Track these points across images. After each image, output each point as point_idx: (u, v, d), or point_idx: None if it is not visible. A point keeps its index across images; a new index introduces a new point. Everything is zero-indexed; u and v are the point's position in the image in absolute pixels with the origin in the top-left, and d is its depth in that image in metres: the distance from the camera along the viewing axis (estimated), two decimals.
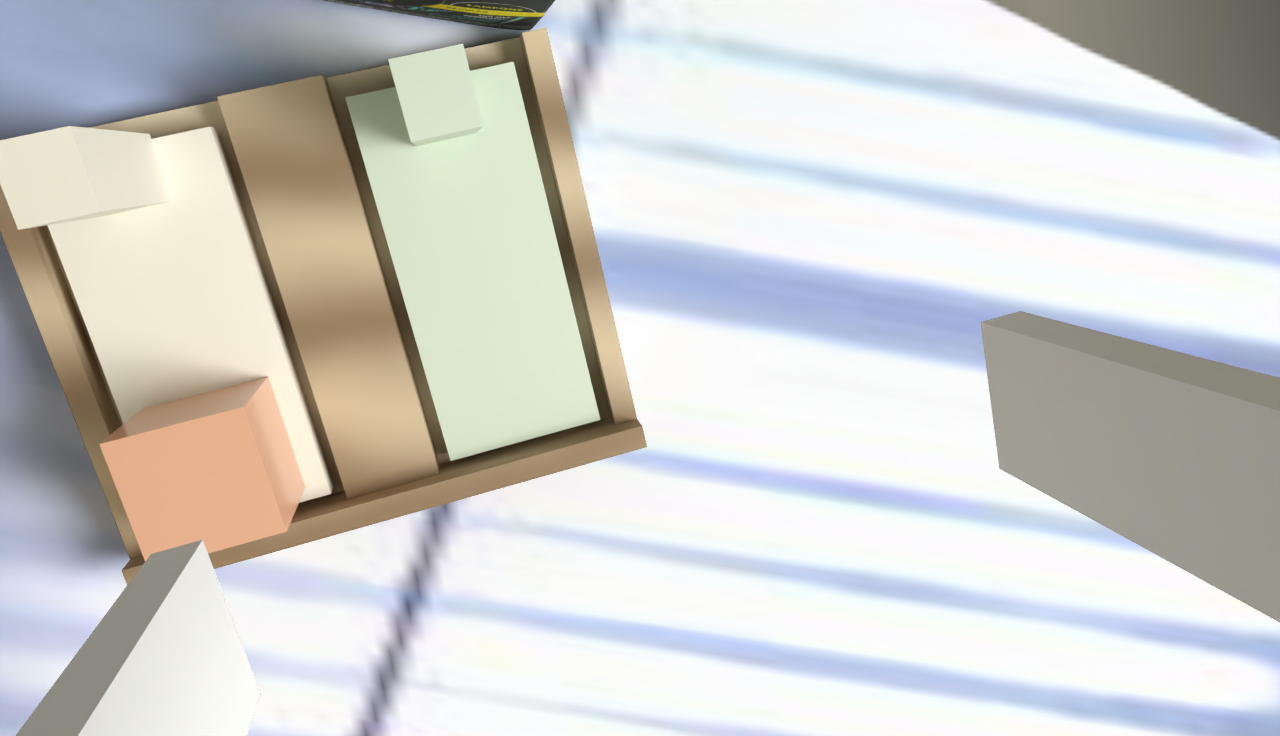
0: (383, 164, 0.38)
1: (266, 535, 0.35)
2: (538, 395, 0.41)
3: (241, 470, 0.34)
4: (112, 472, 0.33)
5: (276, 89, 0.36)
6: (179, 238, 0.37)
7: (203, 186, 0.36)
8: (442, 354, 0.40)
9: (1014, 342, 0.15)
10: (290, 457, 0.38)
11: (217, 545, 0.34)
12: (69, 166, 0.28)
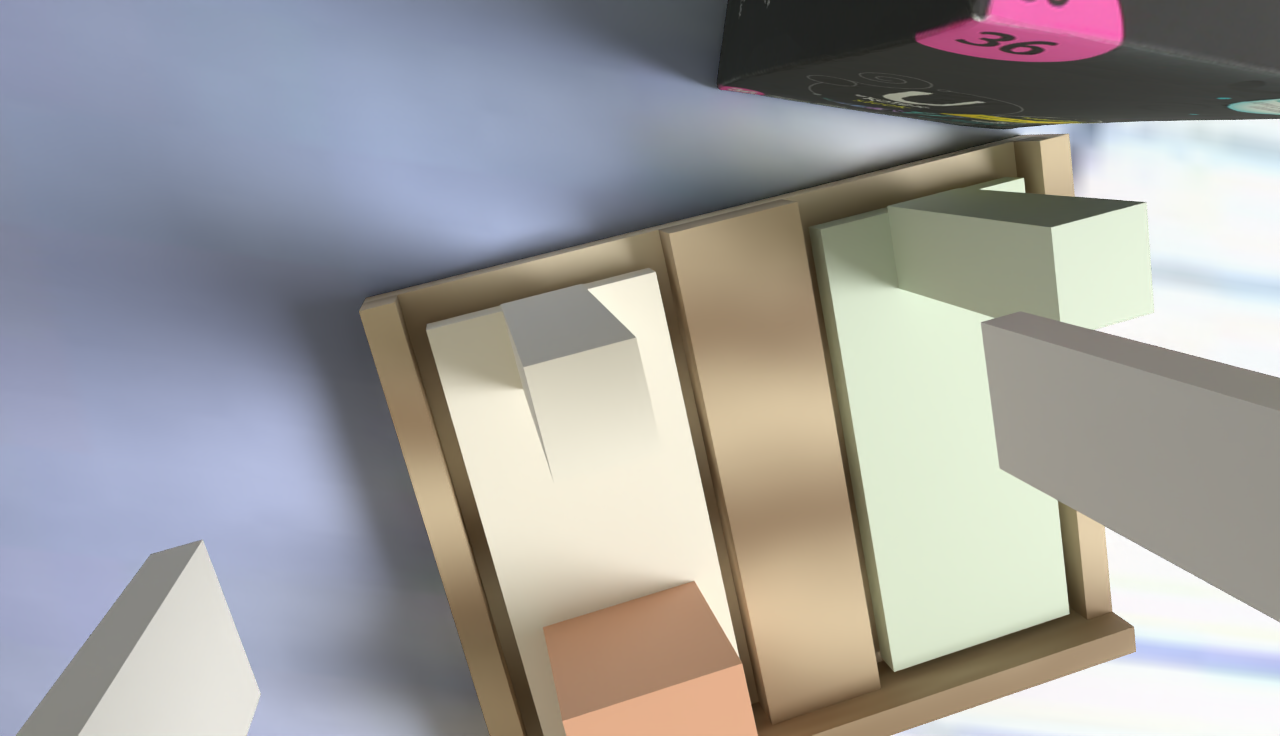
0: (857, 312, 0.29)
1: None
2: (1003, 588, 0.32)
3: None
4: None
5: (741, 222, 0.27)
6: None
7: (640, 348, 0.28)
8: (899, 544, 0.31)
9: (1015, 342, 0.15)
10: None
11: None
12: (630, 392, 0.20)
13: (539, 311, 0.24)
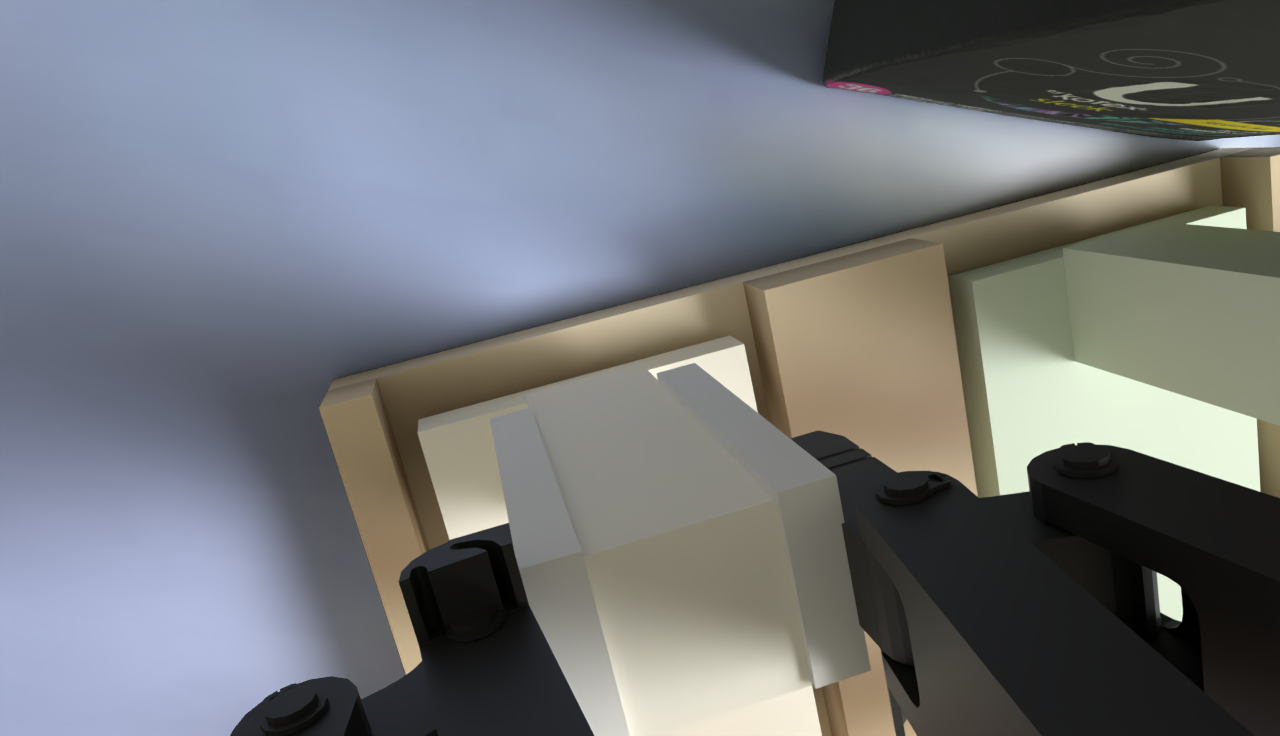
0: (1017, 395, 0.21)
1: None
2: None
3: None
4: None
5: (865, 273, 0.19)
6: None
7: None
8: None
9: None
10: None
11: None
12: (763, 591, 0.11)
13: (586, 414, 0.16)
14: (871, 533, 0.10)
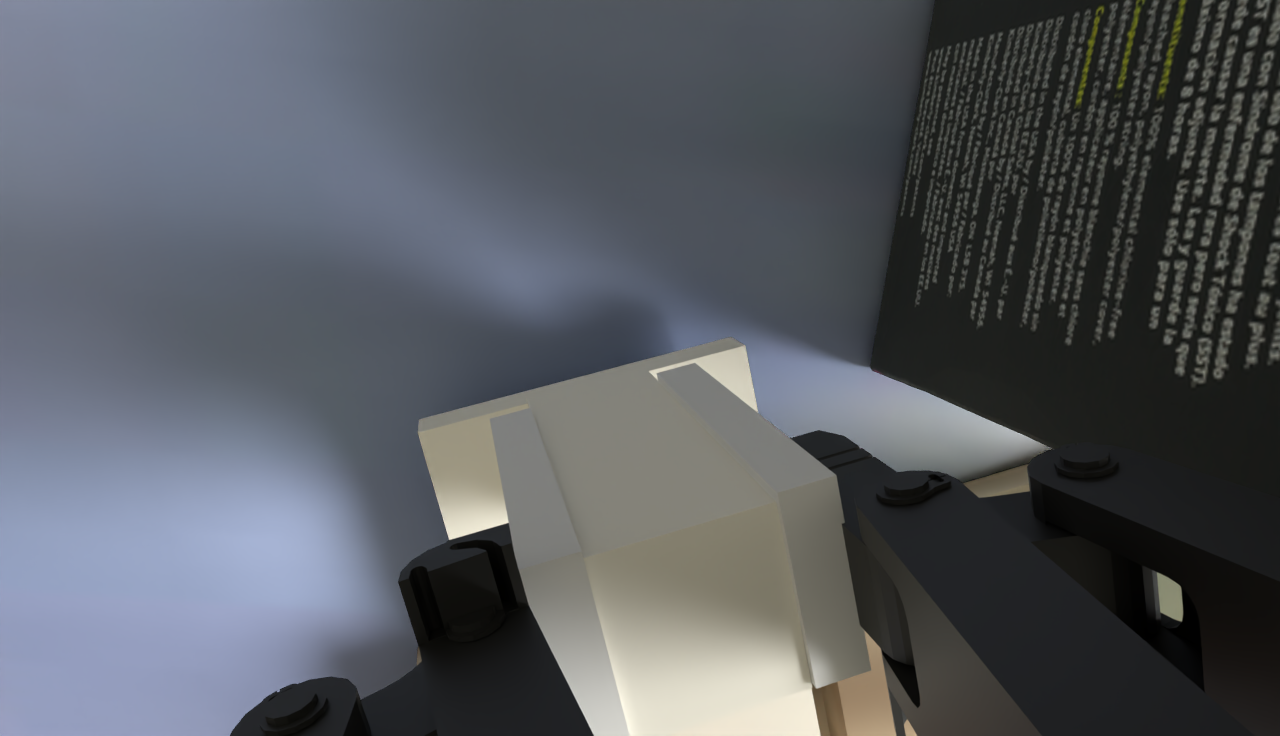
0: None
1: None
2: None
3: None
4: None
5: None
6: None
7: None
8: None
9: None
10: None
11: None
12: (764, 593, 0.11)
13: (587, 415, 0.16)
14: (871, 533, 0.10)
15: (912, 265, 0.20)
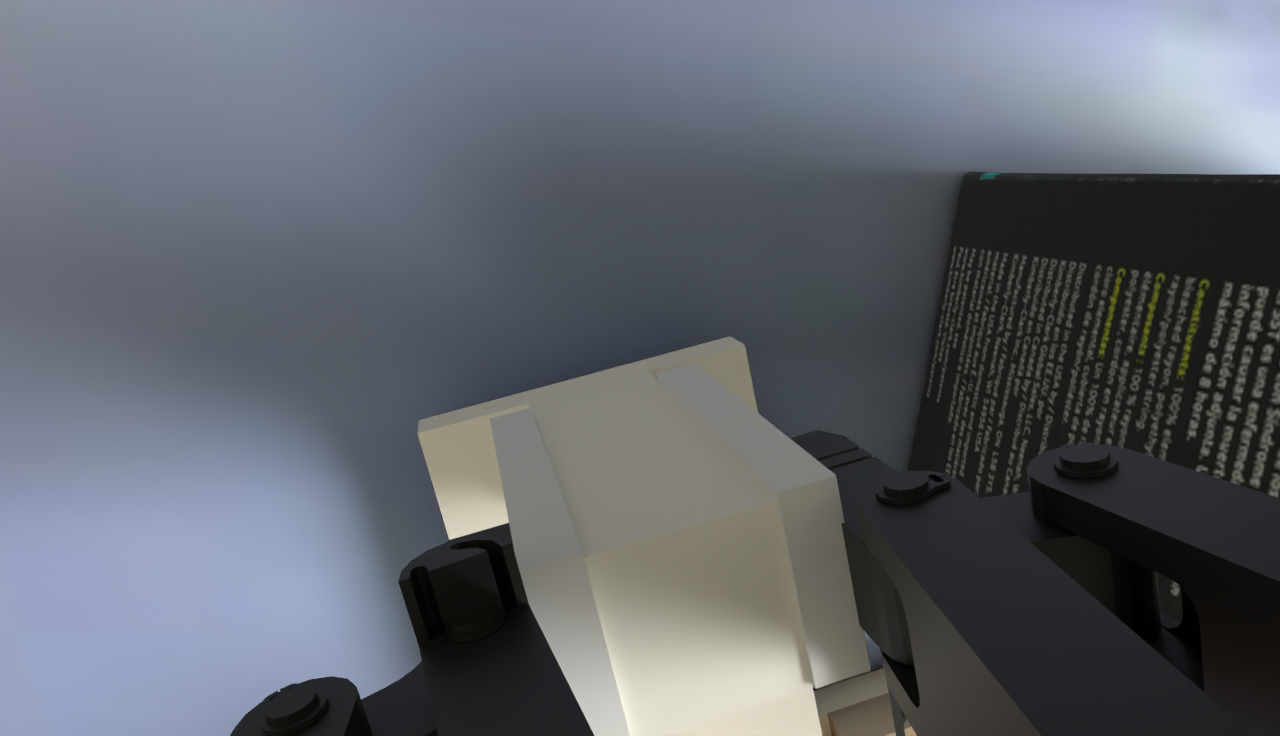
0: None
1: None
2: None
3: None
4: None
5: None
6: None
7: None
8: None
9: None
10: None
11: None
12: (764, 592, 0.11)
13: (586, 415, 0.16)
14: (871, 533, 0.10)
15: (939, 450, 0.21)
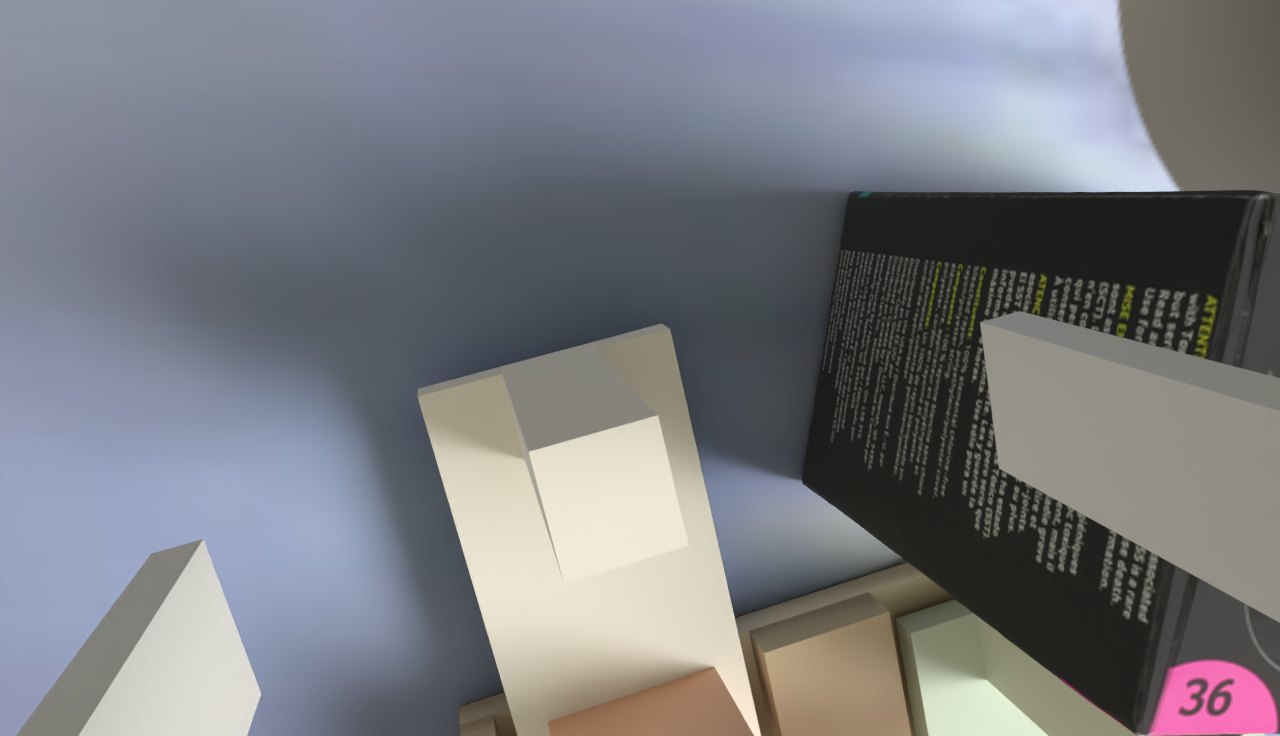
0: (945, 706, 0.29)
1: None
2: None
3: None
4: None
5: (834, 636, 0.28)
6: None
7: None
8: None
9: (1014, 342, 0.15)
10: None
11: None
12: (652, 478, 0.17)
13: (543, 377, 0.22)
14: None
15: (829, 410, 0.27)
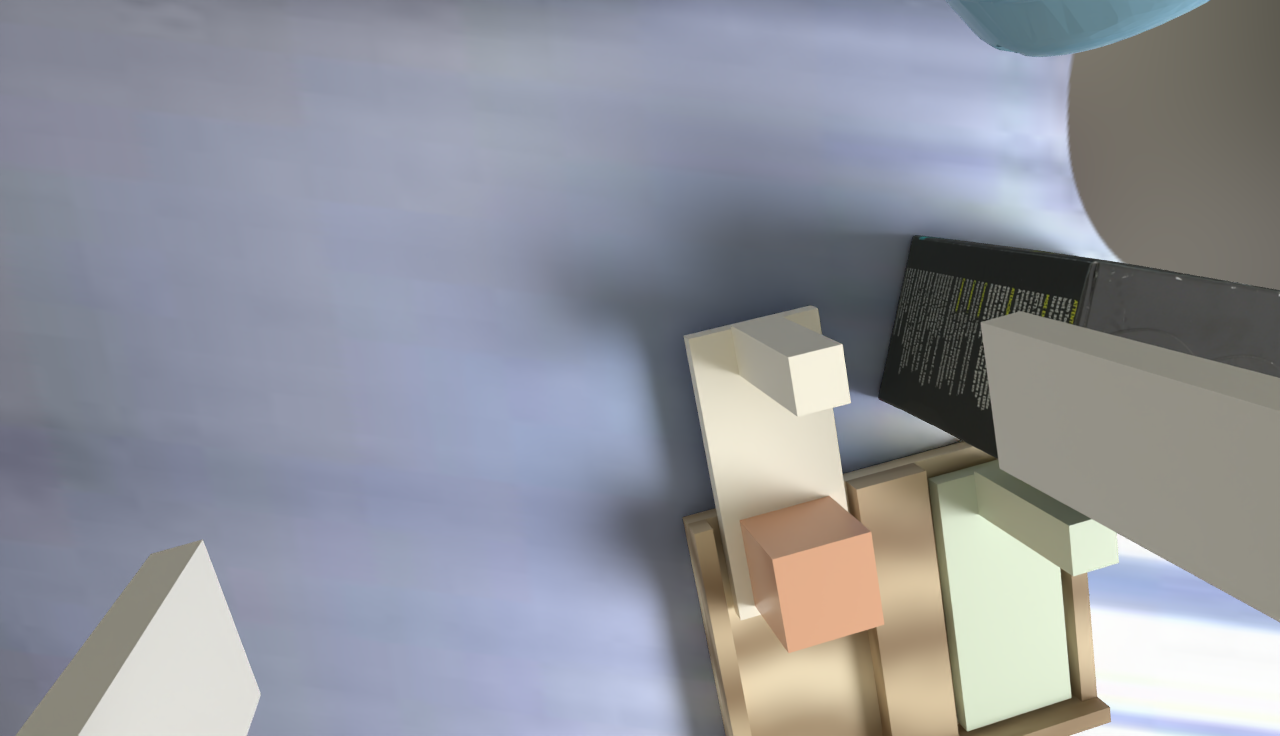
0: (955, 528, 0.51)
1: (870, 627, 0.45)
2: (1032, 682, 0.54)
3: (862, 579, 0.45)
4: (777, 580, 0.44)
5: (895, 482, 0.49)
6: None
7: None
8: (973, 656, 0.53)
9: (1015, 342, 0.15)
10: None
11: (837, 634, 0.45)
12: (837, 371, 0.39)
13: (764, 329, 0.44)
14: None
15: (897, 356, 0.49)
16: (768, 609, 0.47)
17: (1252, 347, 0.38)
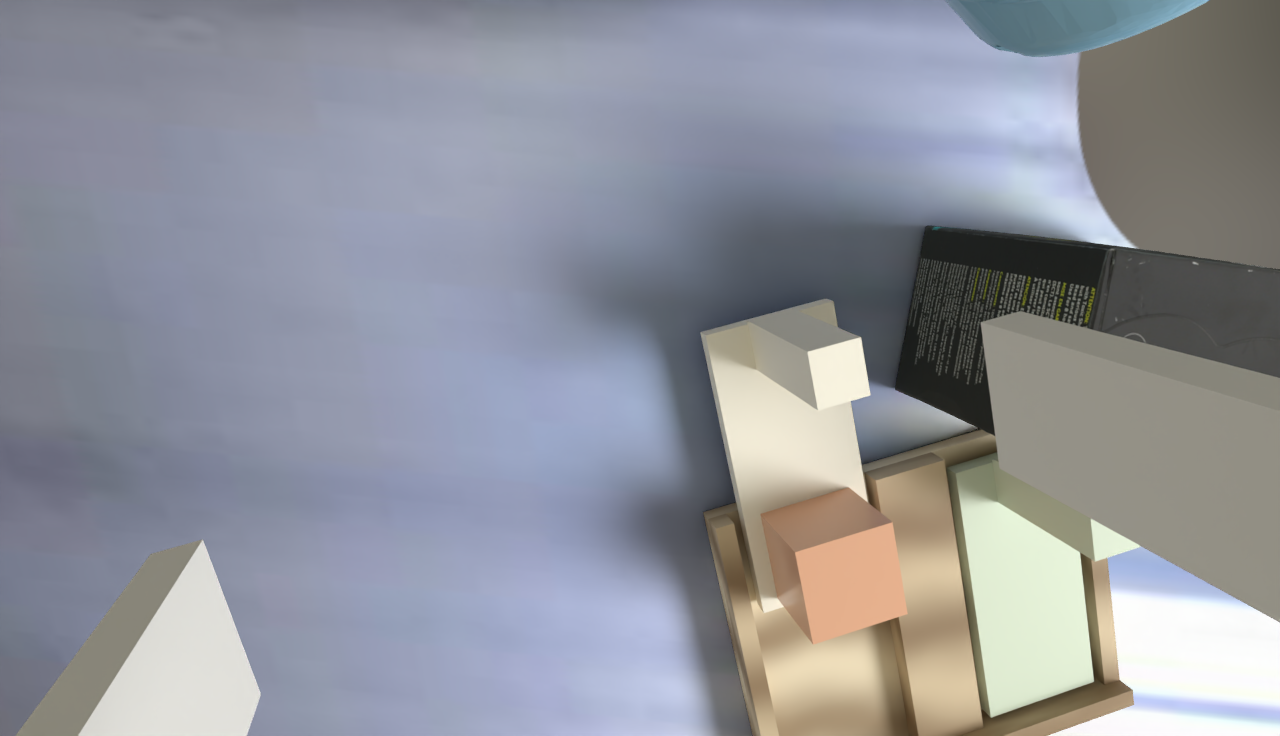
0: (974, 516, 0.51)
1: (894, 617, 0.46)
2: (1054, 667, 0.55)
3: (884, 569, 0.45)
4: (800, 572, 0.44)
5: (914, 472, 0.50)
6: None
7: None
8: (995, 643, 0.53)
9: (1015, 342, 0.15)
10: None
11: (860, 625, 0.45)
12: (856, 364, 0.39)
13: (781, 324, 0.44)
14: None
15: (913, 347, 0.49)
16: (791, 601, 0.47)
17: (1270, 329, 0.38)
